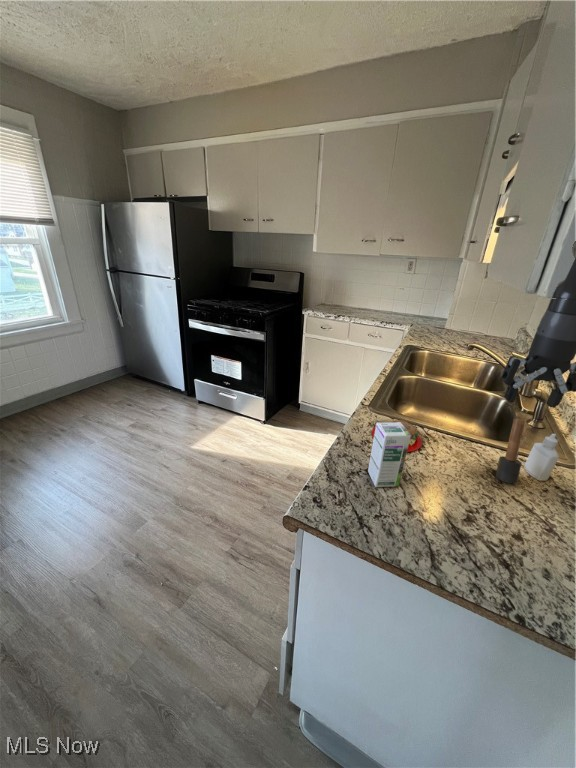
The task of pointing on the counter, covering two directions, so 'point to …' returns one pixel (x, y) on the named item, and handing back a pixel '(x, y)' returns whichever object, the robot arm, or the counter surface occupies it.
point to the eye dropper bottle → (542, 458)
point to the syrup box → (388, 454)
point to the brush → (511, 455)
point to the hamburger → (414, 439)
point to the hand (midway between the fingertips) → (529, 403)
